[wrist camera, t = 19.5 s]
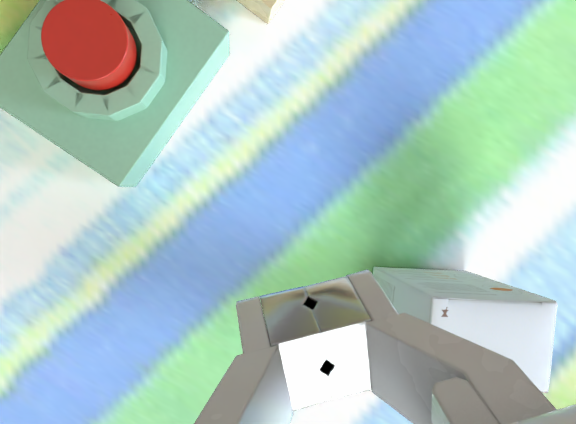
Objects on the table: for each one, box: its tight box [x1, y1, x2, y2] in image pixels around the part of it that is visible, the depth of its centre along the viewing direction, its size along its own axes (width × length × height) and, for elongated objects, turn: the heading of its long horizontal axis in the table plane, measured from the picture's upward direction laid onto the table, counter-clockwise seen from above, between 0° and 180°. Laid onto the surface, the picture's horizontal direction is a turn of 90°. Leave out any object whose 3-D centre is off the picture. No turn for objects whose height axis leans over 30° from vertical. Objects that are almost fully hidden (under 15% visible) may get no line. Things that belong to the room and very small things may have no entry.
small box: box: [373, 267, 557, 393], centre depth 31 cm, size 8×6×10 cm
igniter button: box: [41, 0, 137, 90], centre depth 25 cm, size 4×4×2 cm
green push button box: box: [0, 0, 229, 187], centre depth 29 cm, size 12×10×7 cm
